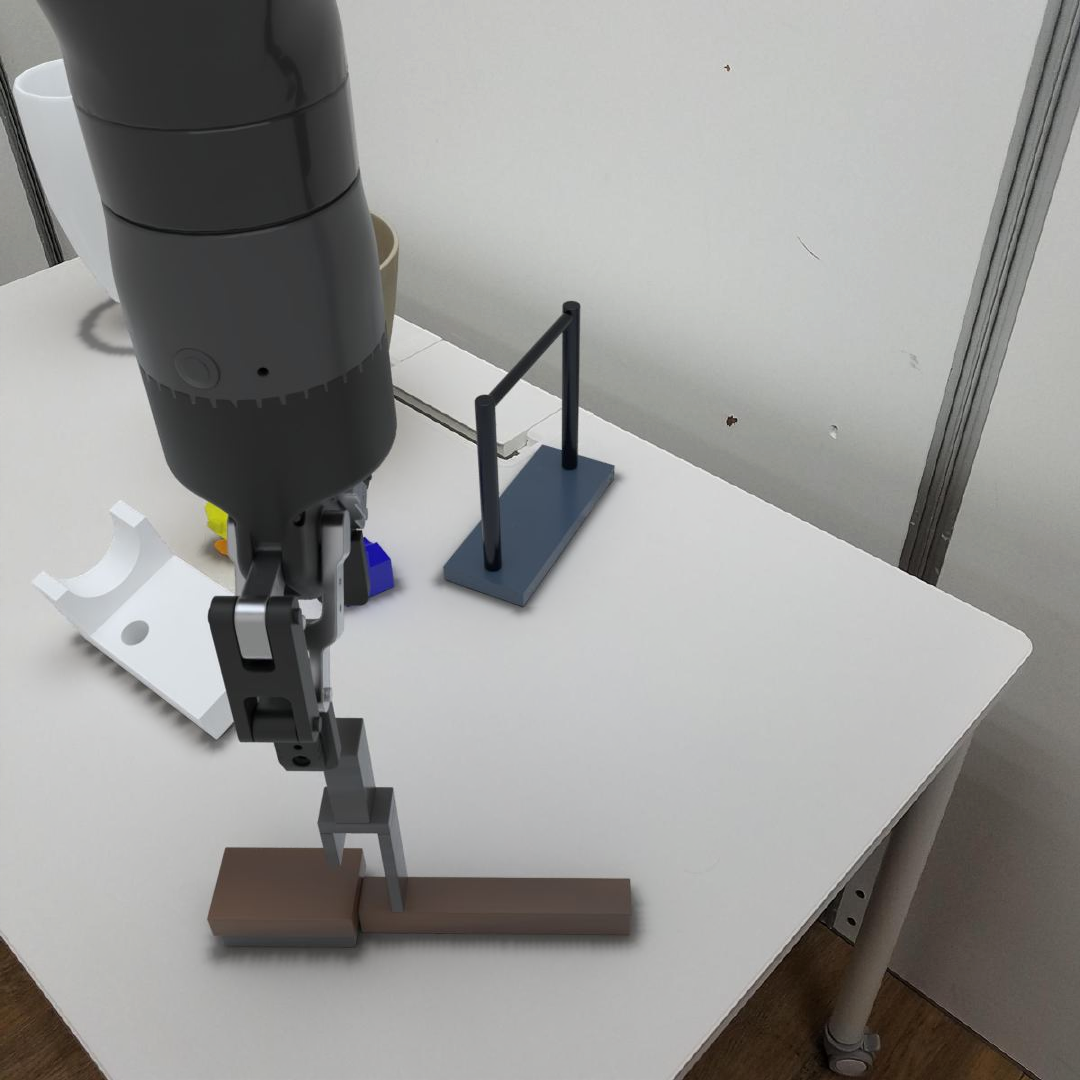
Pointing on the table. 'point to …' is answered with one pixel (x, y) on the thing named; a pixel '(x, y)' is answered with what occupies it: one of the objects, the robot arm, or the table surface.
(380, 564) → the cable holder
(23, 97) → the cup
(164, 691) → the bracket
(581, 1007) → the table surface
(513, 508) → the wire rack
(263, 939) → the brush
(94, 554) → the table surface
